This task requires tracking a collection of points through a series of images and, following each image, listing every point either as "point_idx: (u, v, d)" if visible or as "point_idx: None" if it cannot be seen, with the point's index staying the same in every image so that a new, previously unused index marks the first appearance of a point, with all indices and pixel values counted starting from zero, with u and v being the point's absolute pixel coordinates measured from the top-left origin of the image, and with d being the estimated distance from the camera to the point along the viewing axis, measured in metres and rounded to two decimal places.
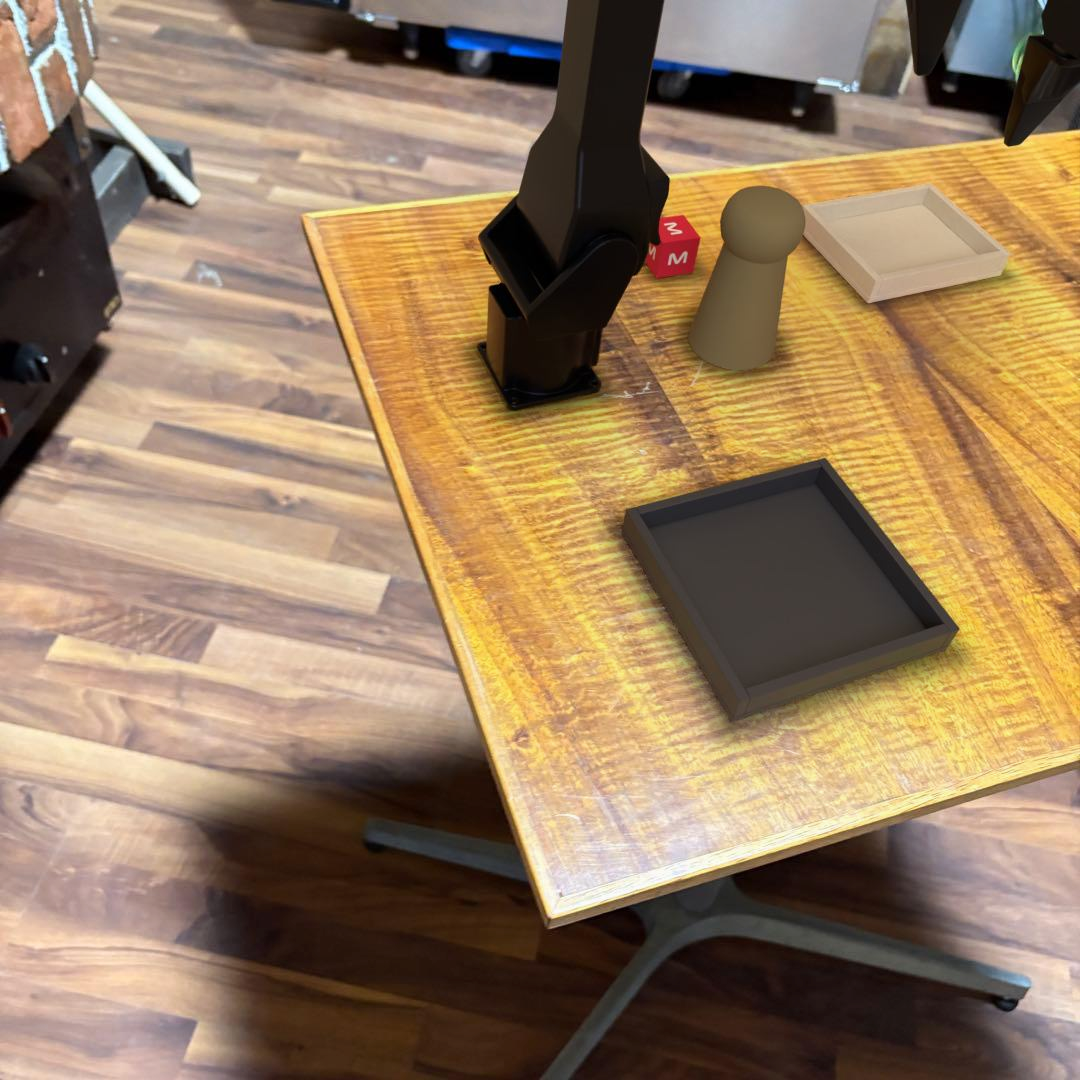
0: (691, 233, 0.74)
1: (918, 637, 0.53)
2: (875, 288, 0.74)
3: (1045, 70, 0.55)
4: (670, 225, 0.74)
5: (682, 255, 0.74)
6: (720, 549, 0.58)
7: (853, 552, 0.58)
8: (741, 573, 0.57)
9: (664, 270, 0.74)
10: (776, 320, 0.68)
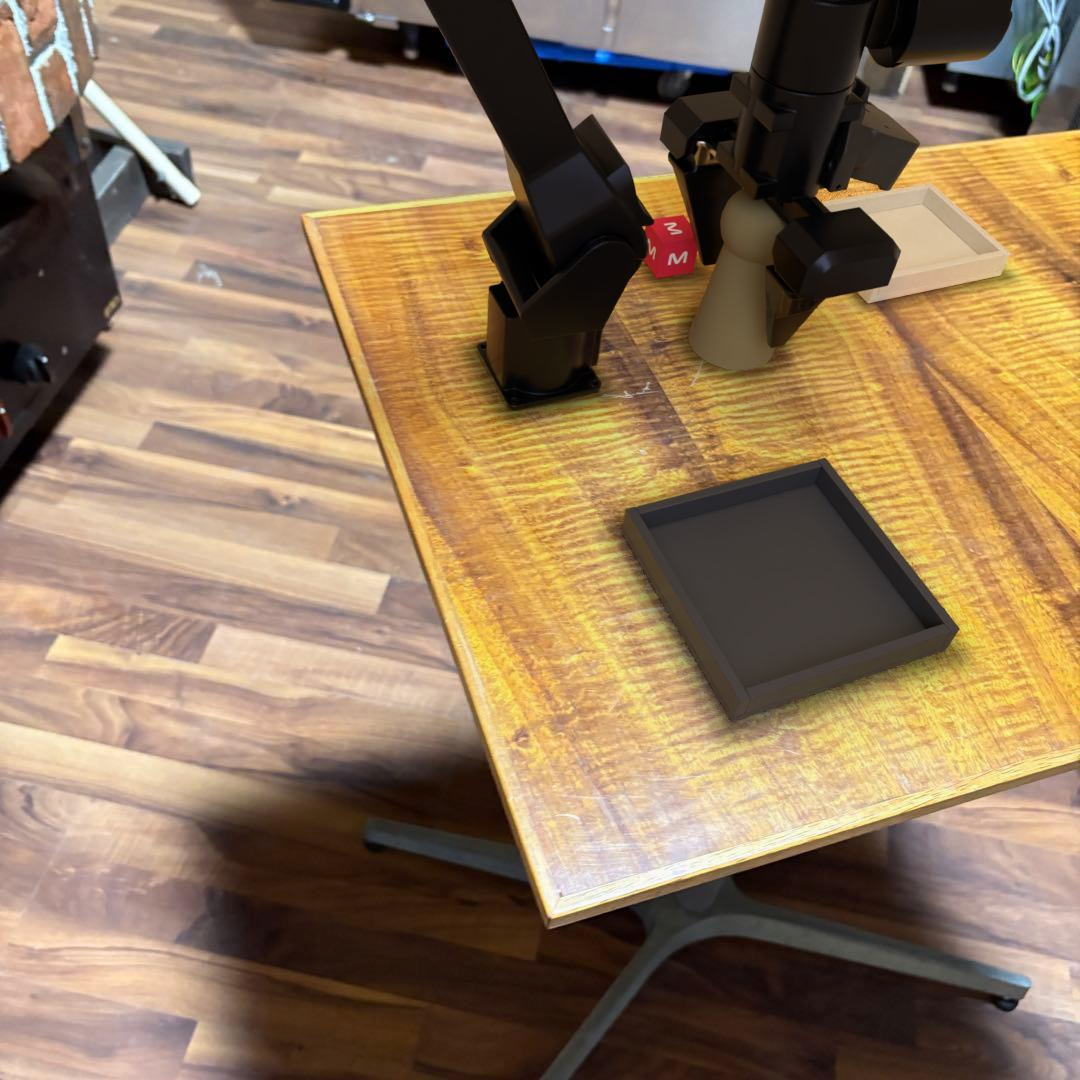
0: (691, 233, 0.74)
1: (918, 637, 0.53)
2: (875, 288, 0.74)
3: (781, 297, 0.59)
4: (670, 225, 0.74)
5: (682, 255, 0.74)
6: (720, 549, 0.58)
7: (853, 552, 0.58)
8: (741, 573, 0.57)
9: (664, 270, 0.74)
10: None
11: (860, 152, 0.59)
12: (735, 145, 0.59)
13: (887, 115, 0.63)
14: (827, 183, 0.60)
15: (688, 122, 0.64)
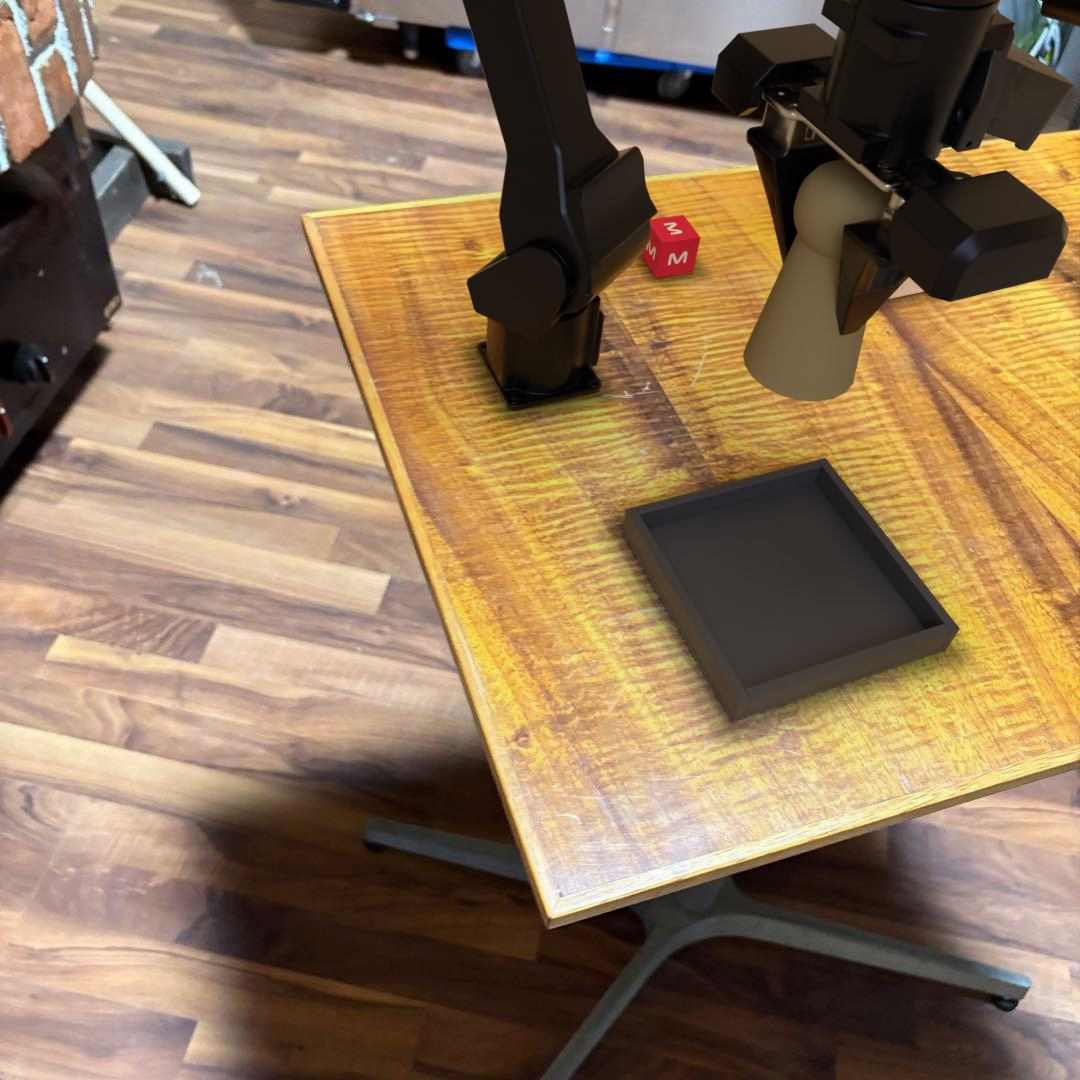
0: (691, 233, 0.74)
1: (918, 637, 0.53)
2: None
3: (866, 267, 0.44)
4: (670, 225, 0.74)
5: (682, 255, 0.74)
6: (720, 549, 0.58)
7: (853, 552, 0.58)
8: (741, 573, 0.57)
9: (664, 270, 0.74)
10: (862, 336, 0.52)
11: (1001, 95, 0.43)
12: (828, 89, 0.43)
13: (1022, 49, 0.47)
14: (954, 139, 0.44)
15: (754, 65, 0.48)
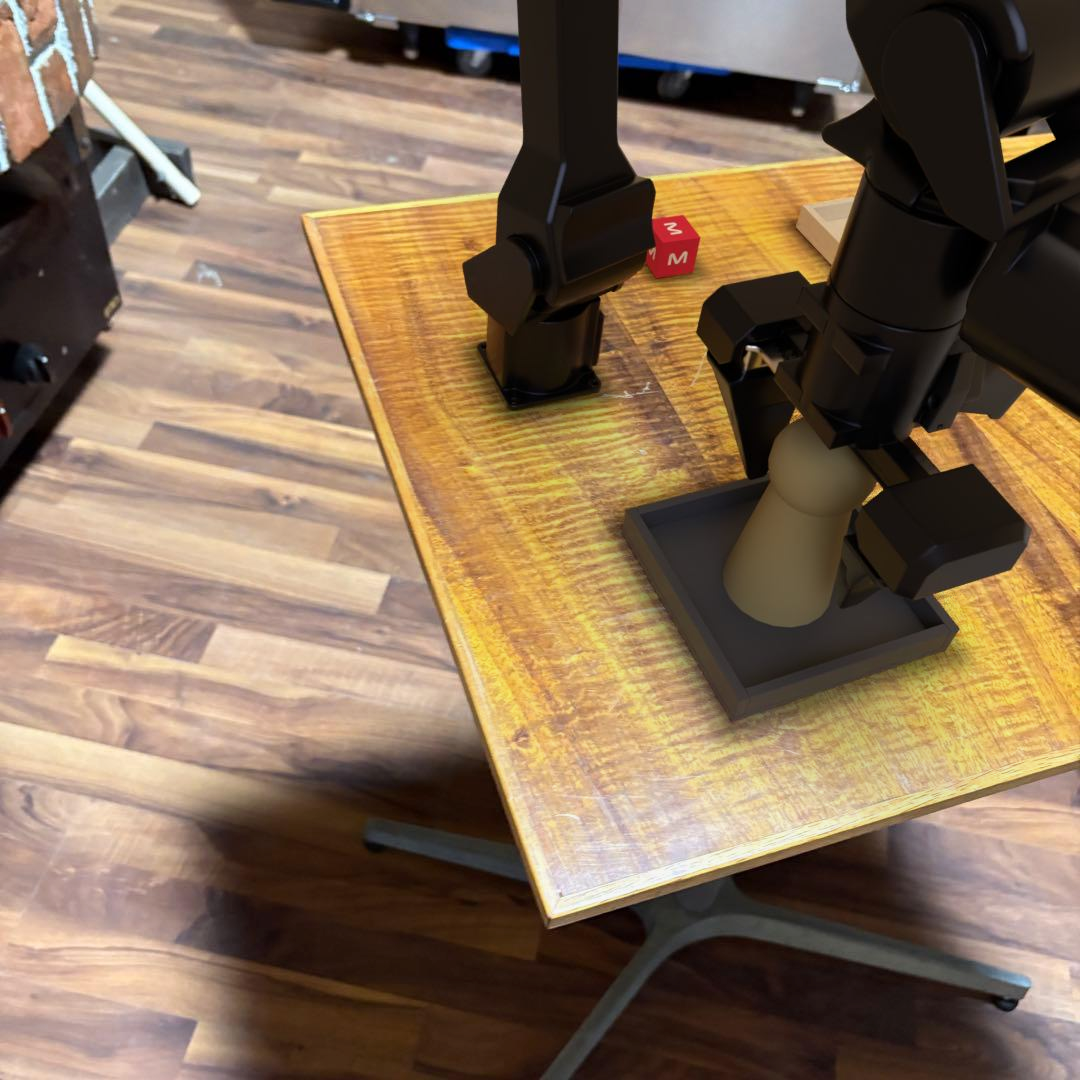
0: (691, 233, 0.74)
1: (918, 637, 0.53)
2: None
3: (865, 577, 0.44)
4: (670, 225, 0.74)
5: (682, 255, 0.74)
6: (720, 549, 0.58)
7: None
8: None
9: (664, 270, 0.74)
10: (836, 569, 0.53)
11: (971, 385, 0.44)
12: (803, 373, 0.44)
13: None
14: (925, 422, 0.45)
15: (735, 322, 0.49)
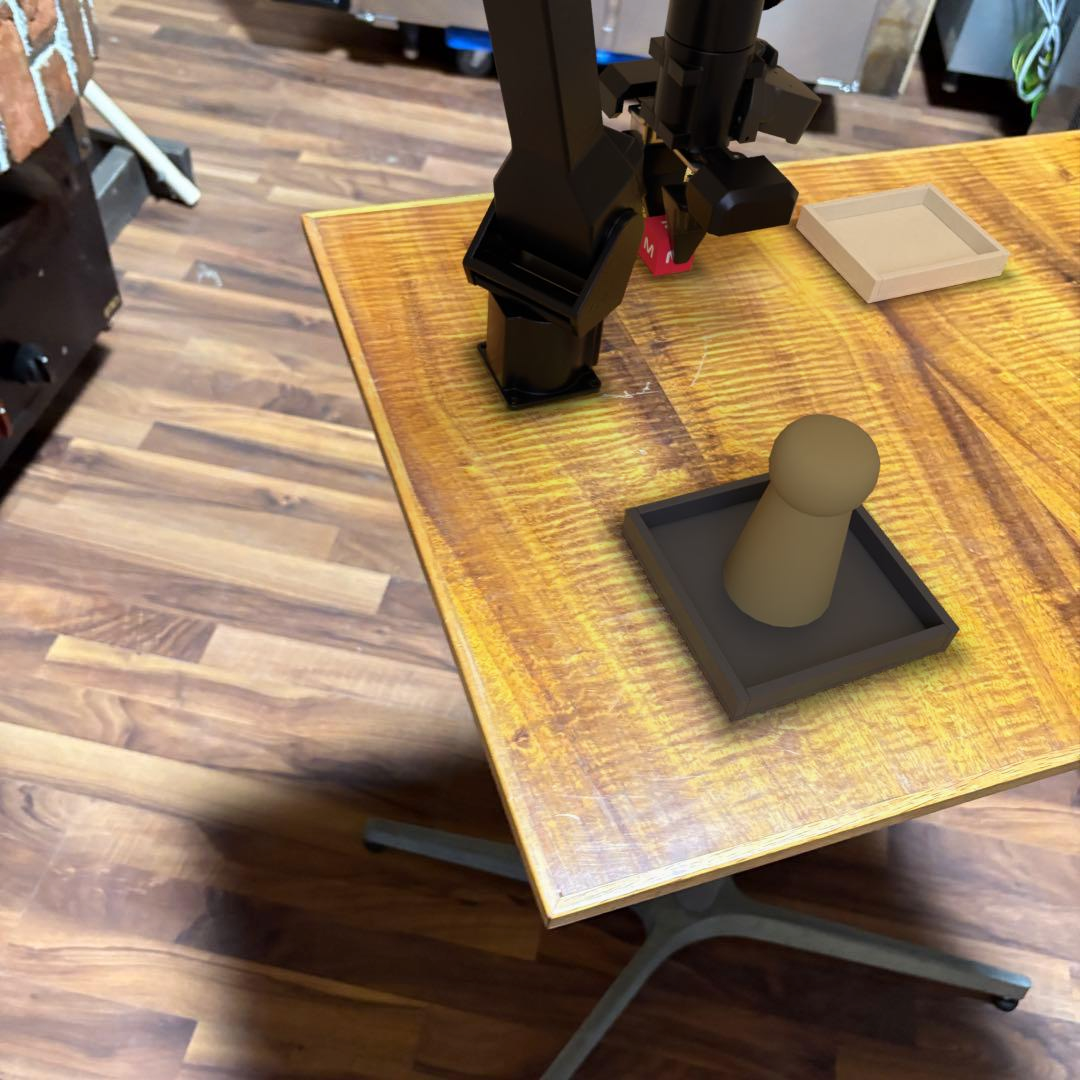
0: None
1: (918, 637, 0.53)
2: (875, 288, 0.74)
3: (676, 212, 0.68)
4: None
5: None
6: (720, 549, 0.58)
7: (853, 552, 0.58)
8: None
9: (662, 268, 0.75)
10: (836, 569, 0.53)
11: (765, 107, 0.66)
12: (655, 101, 0.67)
13: (794, 77, 0.70)
14: (737, 135, 0.67)
15: (618, 84, 0.71)
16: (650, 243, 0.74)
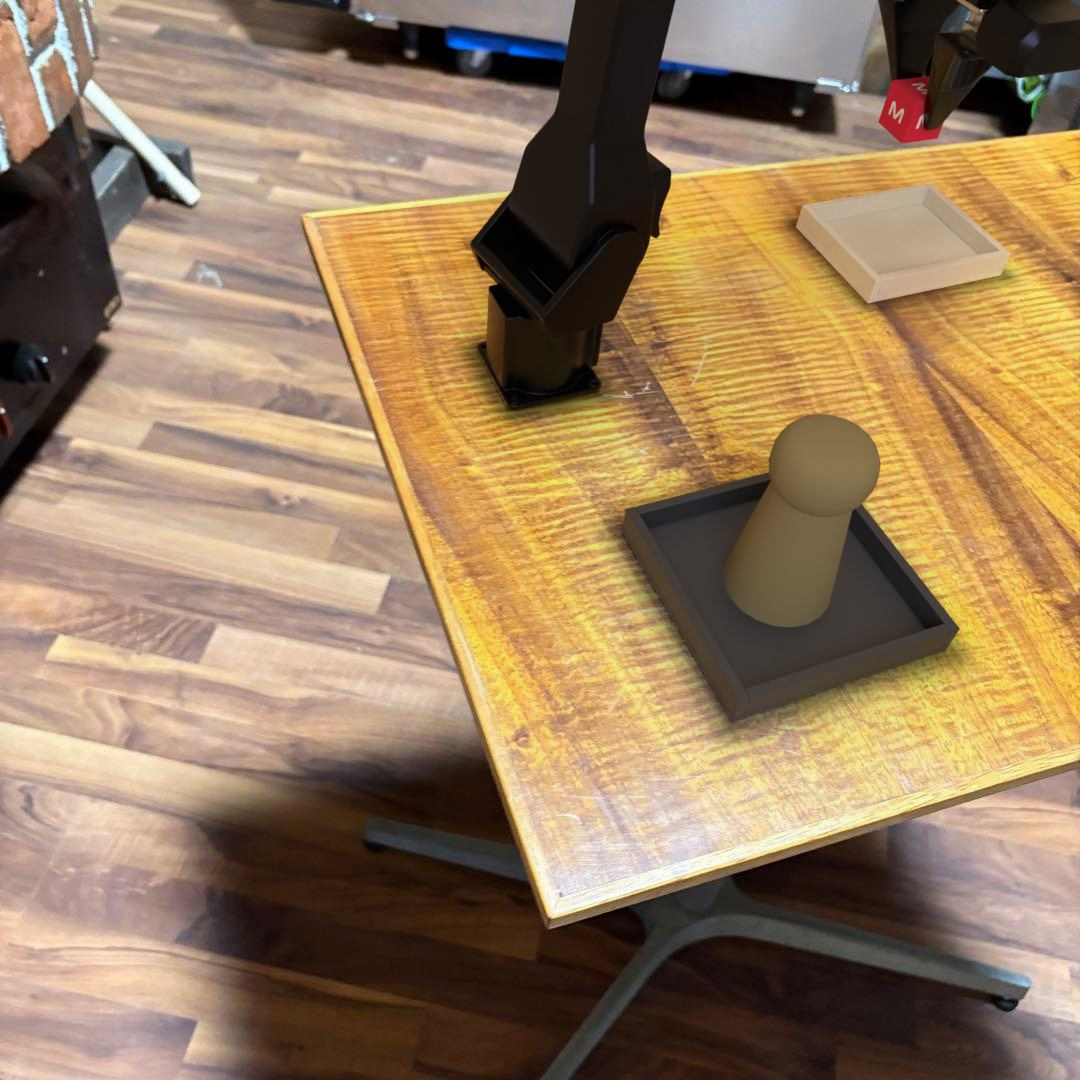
0: None
1: (918, 637, 0.53)
2: (875, 288, 0.74)
3: (951, 62, 0.63)
4: (918, 85, 0.69)
5: None
6: (720, 549, 0.58)
7: (853, 552, 0.58)
8: None
9: (911, 134, 0.70)
10: (837, 569, 0.53)
11: None
12: None
13: None
14: None
15: None
16: (899, 107, 0.69)
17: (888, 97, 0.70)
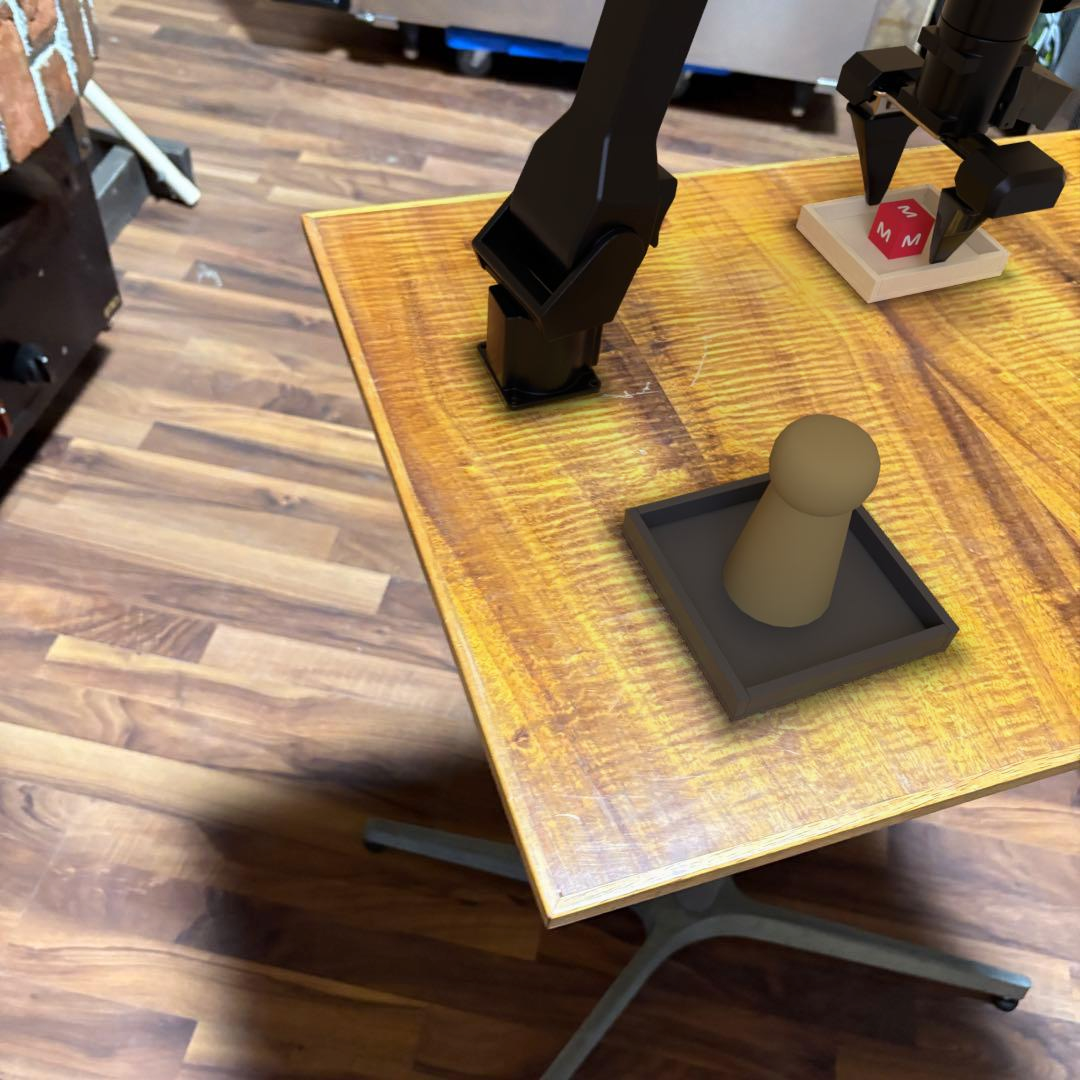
0: (926, 216, 0.76)
1: (918, 637, 0.53)
2: (875, 288, 0.74)
3: (955, 215, 0.69)
4: (904, 208, 0.77)
5: (916, 237, 0.77)
6: (720, 549, 0.58)
7: (853, 552, 0.58)
8: None
9: (897, 252, 0.77)
10: (837, 569, 0.53)
11: (1027, 94, 0.69)
12: (919, 89, 0.69)
13: (1042, 66, 0.73)
14: (997, 121, 0.70)
15: (867, 72, 0.74)
16: (886, 228, 0.77)
17: (876, 217, 0.78)
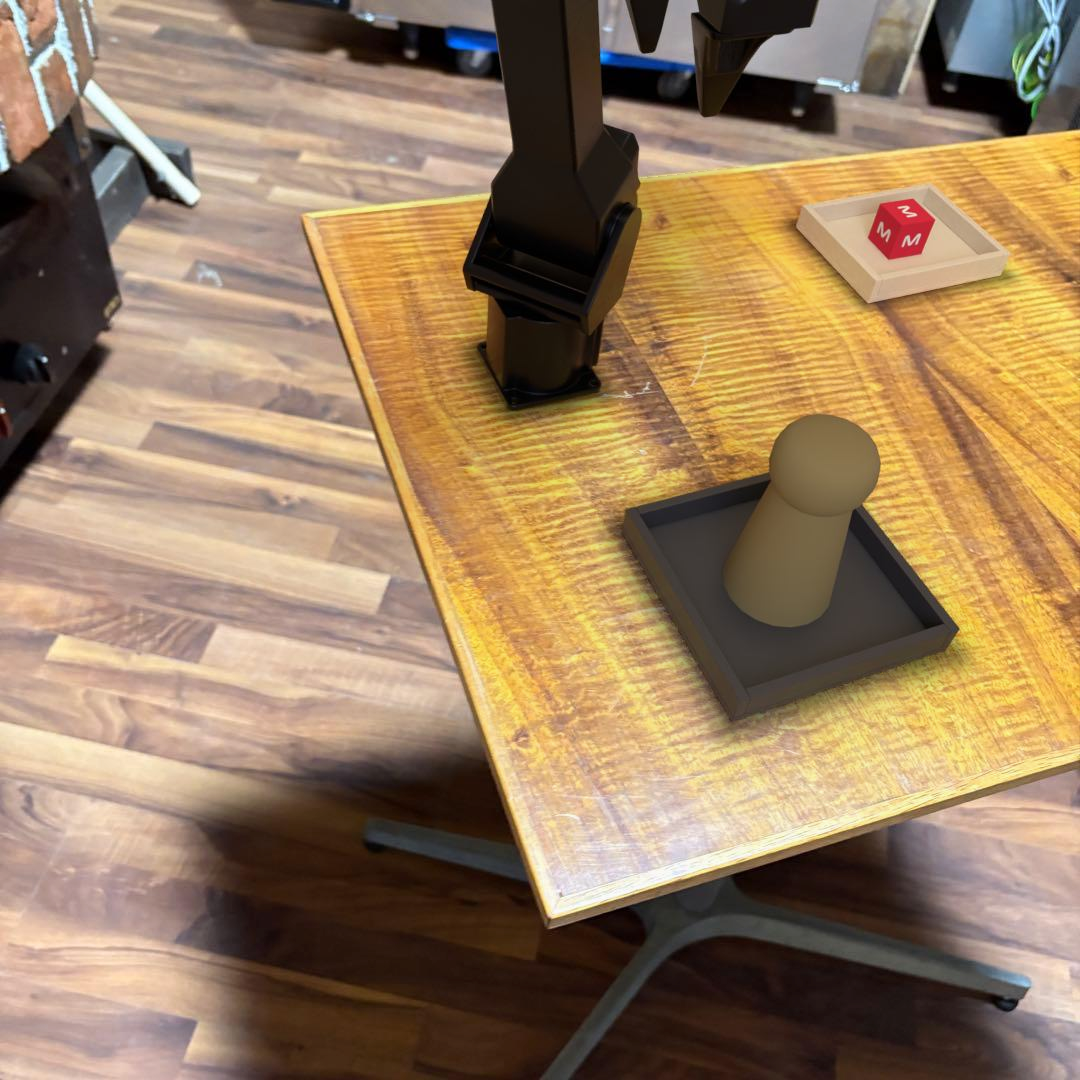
0: (925, 216, 0.76)
1: (918, 637, 0.53)
2: (875, 288, 0.74)
3: (707, 44, 0.60)
4: (903, 208, 0.77)
5: (916, 237, 0.77)
6: (720, 549, 0.58)
7: (853, 552, 0.58)
8: None
9: (897, 252, 0.77)
10: (837, 569, 0.53)
11: None
12: None
13: None
14: None
15: None
16: (886, 228, 0.77)
17: (876, 217, 0.78)
